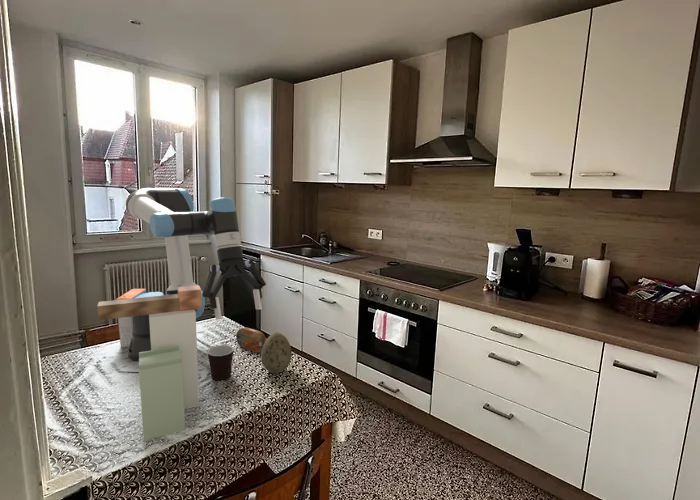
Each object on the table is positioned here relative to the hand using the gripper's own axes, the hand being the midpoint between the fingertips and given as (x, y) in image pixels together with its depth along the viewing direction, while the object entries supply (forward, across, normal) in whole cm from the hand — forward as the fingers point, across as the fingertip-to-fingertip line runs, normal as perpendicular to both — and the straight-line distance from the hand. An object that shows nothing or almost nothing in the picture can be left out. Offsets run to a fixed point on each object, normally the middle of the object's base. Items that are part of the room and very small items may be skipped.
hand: (239, 314), depth 119 cm
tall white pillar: (+24, -18, +15) cm, 33 cm away
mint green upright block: (+26, -24, +6) cm, 36 cm away
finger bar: (-6, -22, +8) cm, 24 cm away
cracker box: (+8, -15, +69) cm, 71 cm away
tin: (+19, +19, +34) cm, 43 cm away
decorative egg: (+25, +16, +12) cm, 32 cm away
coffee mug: (+22, +1, +21) cm, 31 cm away
